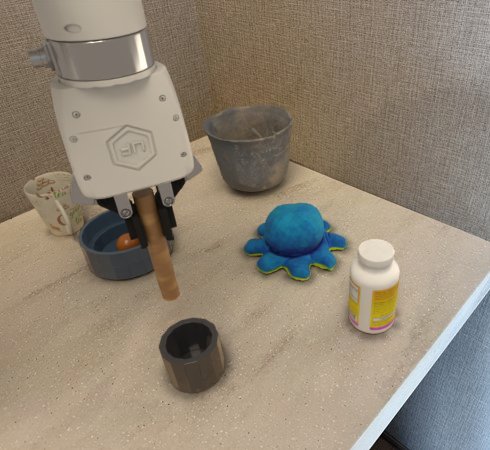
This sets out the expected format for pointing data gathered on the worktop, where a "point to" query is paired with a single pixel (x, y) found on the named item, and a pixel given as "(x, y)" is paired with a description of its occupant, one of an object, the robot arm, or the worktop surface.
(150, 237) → the stick
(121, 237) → the bead
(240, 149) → the grey bucket
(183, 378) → the holder
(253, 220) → the worktop surface
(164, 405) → the worktop surface
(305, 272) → the plush toy
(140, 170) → the robot arm
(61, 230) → the mug
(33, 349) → the worktop surface
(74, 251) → the worktop surface
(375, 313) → the supplement bottle
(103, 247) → the mixing bowl
